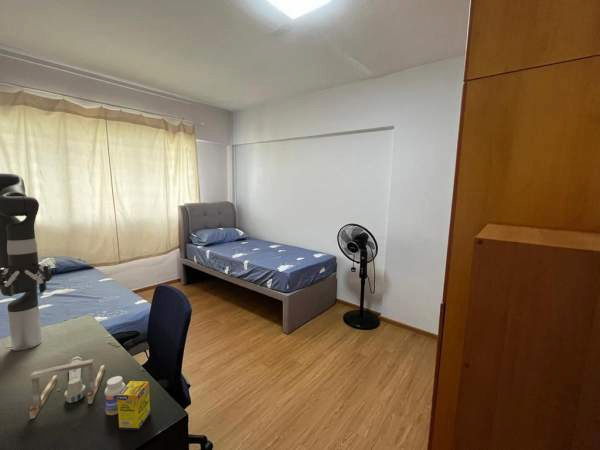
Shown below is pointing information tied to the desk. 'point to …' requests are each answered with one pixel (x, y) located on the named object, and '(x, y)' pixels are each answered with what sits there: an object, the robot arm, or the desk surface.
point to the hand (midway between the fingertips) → (27, 294)
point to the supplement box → (133, 405)
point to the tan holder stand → (41, 398)
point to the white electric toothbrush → (75, 383)
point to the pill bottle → (113, 394)
